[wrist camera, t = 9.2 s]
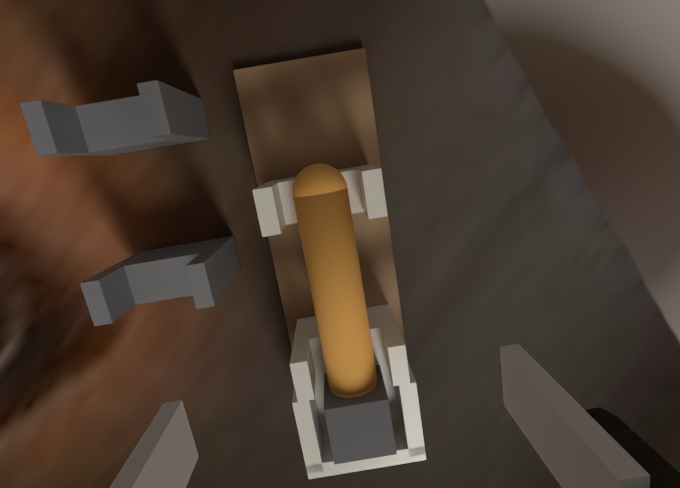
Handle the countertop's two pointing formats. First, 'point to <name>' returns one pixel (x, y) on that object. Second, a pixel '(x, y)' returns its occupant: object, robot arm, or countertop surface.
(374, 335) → the clips
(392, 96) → the countertop surface
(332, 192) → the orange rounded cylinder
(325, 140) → the clip rail
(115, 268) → the grey cradle stand
